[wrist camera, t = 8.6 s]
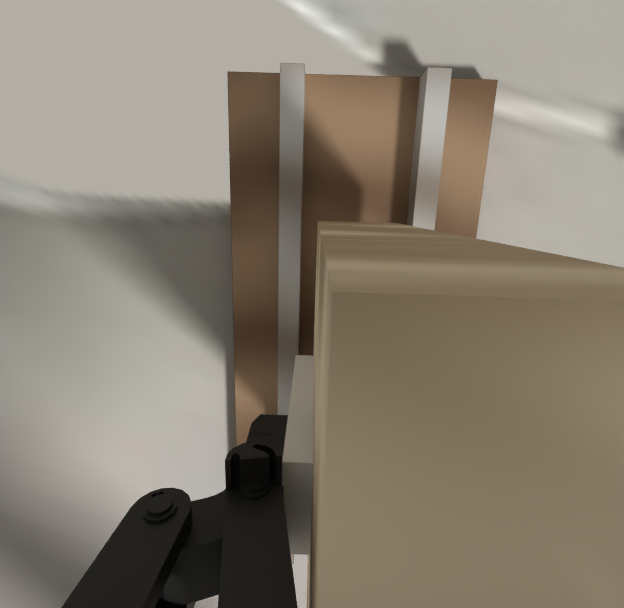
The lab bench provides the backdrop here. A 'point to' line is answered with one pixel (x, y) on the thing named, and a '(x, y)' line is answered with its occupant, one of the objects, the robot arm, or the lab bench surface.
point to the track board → (335, 193)
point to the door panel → (464, 424)
